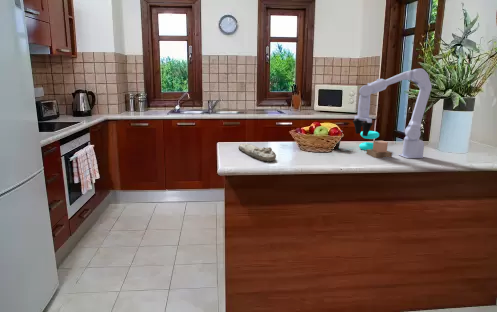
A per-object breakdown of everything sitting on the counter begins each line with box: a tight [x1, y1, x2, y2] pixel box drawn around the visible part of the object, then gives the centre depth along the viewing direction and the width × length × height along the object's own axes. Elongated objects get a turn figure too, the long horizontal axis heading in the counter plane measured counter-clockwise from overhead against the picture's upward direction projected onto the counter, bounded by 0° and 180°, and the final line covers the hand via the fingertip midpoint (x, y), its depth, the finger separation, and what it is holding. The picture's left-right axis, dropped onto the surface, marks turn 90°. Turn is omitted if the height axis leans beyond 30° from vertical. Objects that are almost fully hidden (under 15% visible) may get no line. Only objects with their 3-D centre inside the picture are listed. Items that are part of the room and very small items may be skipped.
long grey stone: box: [238, 143, 277, 162], centre depth 180 cm, size 35×5×10 cm
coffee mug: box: [333, 130, 344, 150], centre depth 198 cm, size 12×9×10 cm
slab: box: [365, 149, 393, 159], centre depth 183 cm, size 9×9×3 cm
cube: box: [372, 140, 389, 152], centre depth 182 cm, size 5×5×5 cm
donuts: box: [358, 130, 380, 151], centre depth 198 cm, size 10×10×10 cm
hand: (361, 134), depth 186 cm, fingers open, 7 cm apart
